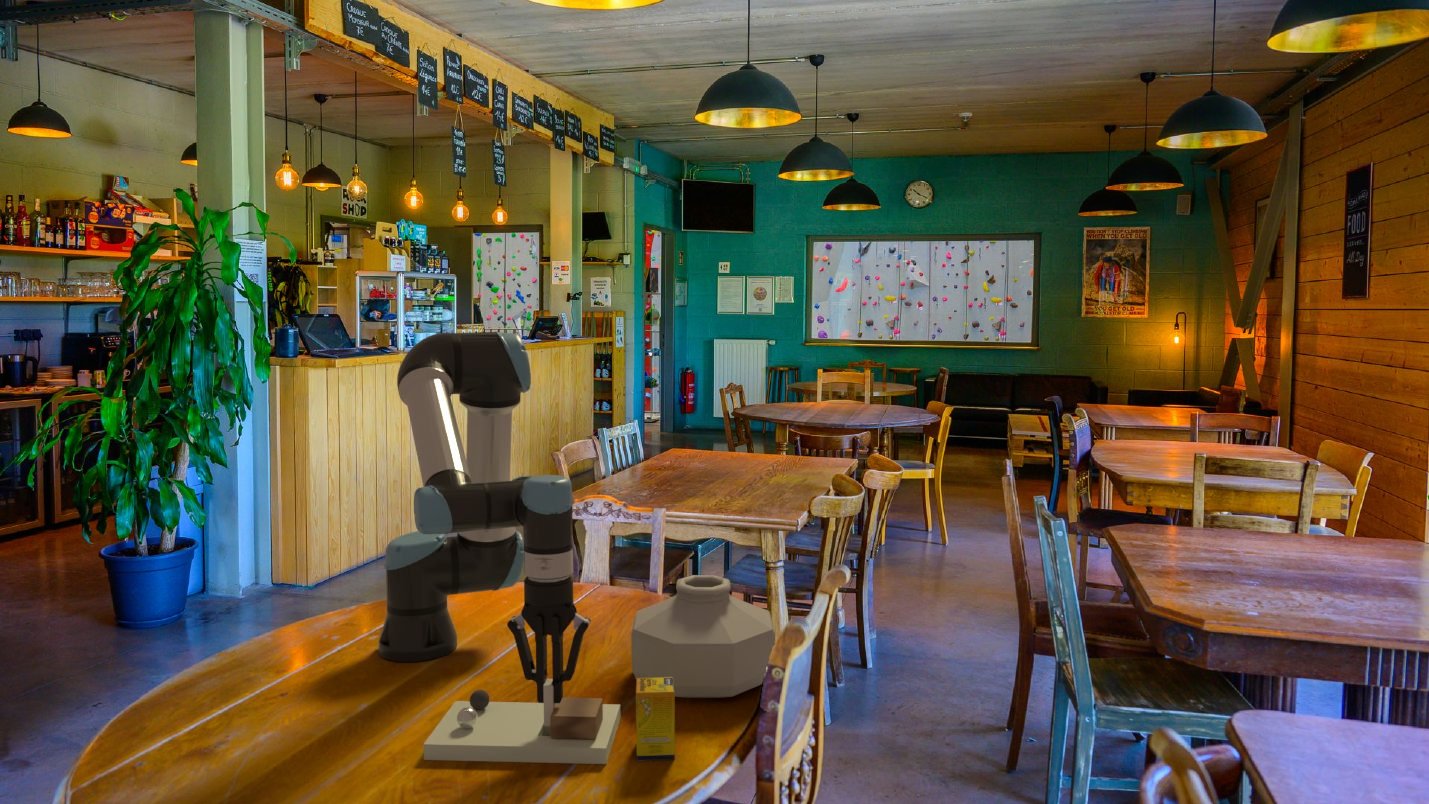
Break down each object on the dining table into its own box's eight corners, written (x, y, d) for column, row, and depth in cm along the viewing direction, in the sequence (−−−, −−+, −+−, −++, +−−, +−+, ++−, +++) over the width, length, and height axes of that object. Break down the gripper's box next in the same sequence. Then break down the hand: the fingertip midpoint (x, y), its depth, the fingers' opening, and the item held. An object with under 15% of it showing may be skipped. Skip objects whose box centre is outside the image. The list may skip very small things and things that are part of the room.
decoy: (467, 713, 158) (466, 694, 158) (473, 704, 161) (472, 686, 161) (486, 713, 158) (486, 694, 158) (491, 705, 161) (491, 686, 161)
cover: (550, 737, 149) (550, 716, 148) (559, 718, 156) (559, 697, 155) (595, 738, 148) (595, 717, 148) (602, 719, 155) (602, 698, 155)
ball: (454, 731, 151) (453, 712, 151) (460, 723, 154) (460, 703, 154) (474, 732, 151) (474, 712, 151) (480, 723, 154) (479, 704, 154)
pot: (608, 663, 187) (608, 569, 185) (739, 643, 198) (740, 555, 196) (657, 720, 162) (657, 612, 160) (805, 694, 173) (806, 593, 171)
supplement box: (635, 743, 153) (635, 677, 152) (673, 742, 153) (673, 676, 152) (635, 761, 147) (635, 692, 146) (675, 760, 148) (675, 691, 146)
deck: (423, 759, 147) (423, 744, 147) (455, 715, 163) (455, 701, 163) (606, 764, 146) (606, 748, 146) (620, 718, 162) (620, 704, 162)
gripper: (500, 582, 146) (503, 731, 148) (586, 583, 145) (587, 733, 148) (513, 568, 153) (515, 710, 156) (594, 569, 153) (595, 712, 155)
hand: (550, 721), depth 152 cm, fingers closed
